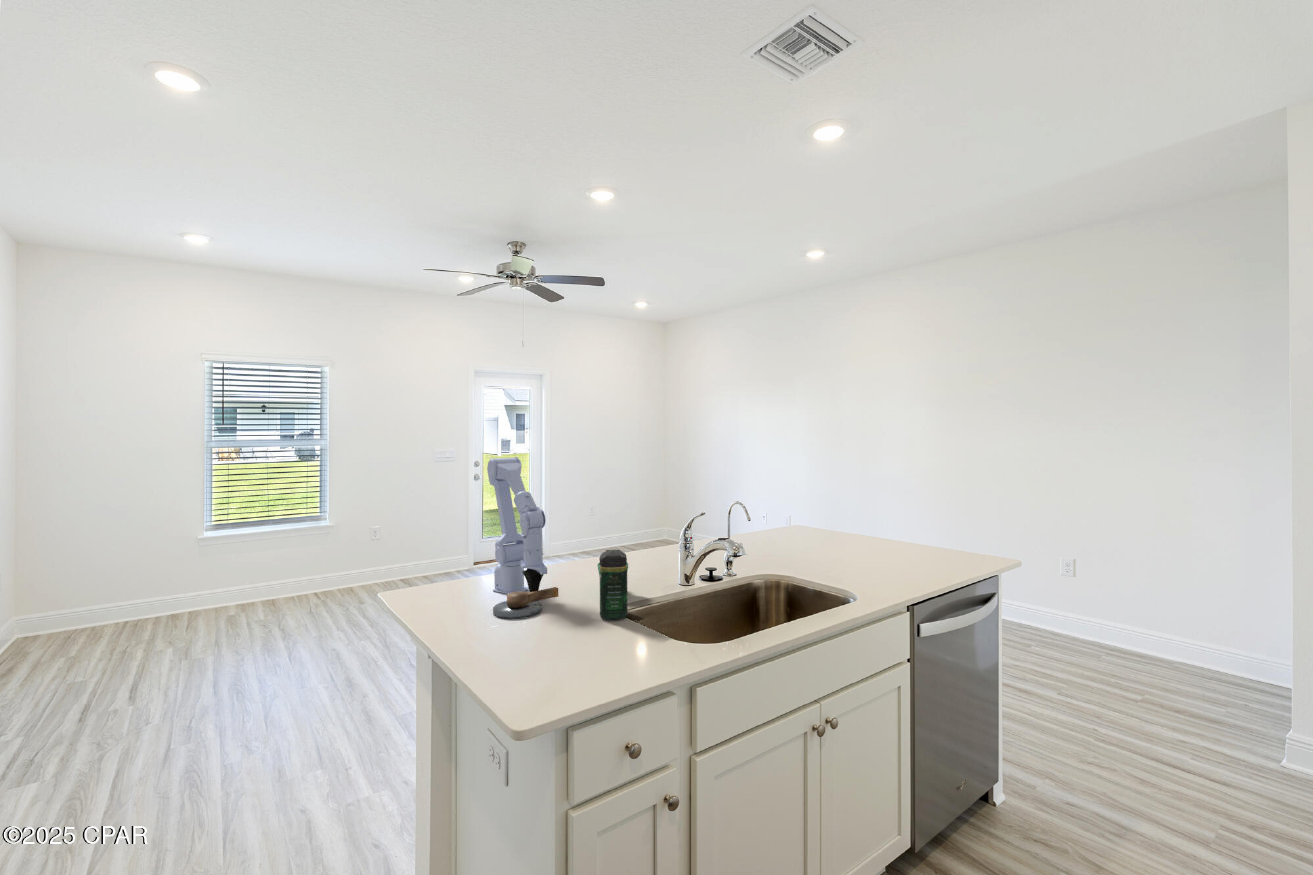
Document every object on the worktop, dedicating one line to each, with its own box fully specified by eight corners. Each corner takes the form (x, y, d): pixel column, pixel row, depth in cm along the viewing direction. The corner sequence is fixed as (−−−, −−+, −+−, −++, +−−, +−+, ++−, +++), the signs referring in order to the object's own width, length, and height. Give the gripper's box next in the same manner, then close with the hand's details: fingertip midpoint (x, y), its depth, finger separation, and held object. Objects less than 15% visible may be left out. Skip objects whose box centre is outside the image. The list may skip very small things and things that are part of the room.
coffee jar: (628, 621, 164) (627, 554, 164) (599, 622, 164) (598, 555, 163) (627, 610, 174) (626, 547, 173) (600, 611, 173) (599, 547, 173)
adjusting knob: (512, 609, 170) (512, 598, 170) (503, 604, 175) (503, 593, 175) (561, 598, 180) (561, 588, 180) (552, 593, 184) (552, 584, 184)
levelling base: (482, 614, 172) (482, 608, 172) (517, 601, 184) (517, 595, 184) (517, 622, 165) (517, 616, 164) (551, 608, 176) (551, 602, 176)
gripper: (511, 547, 186) (511, 590, 187) (531, 555, 175) (532, 601, 175) (531, 544, 191) (532, 586, 191) (553, 551, 179) (554, 596, 179)
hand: (534, 593), depth 183 cm, fingers closed
